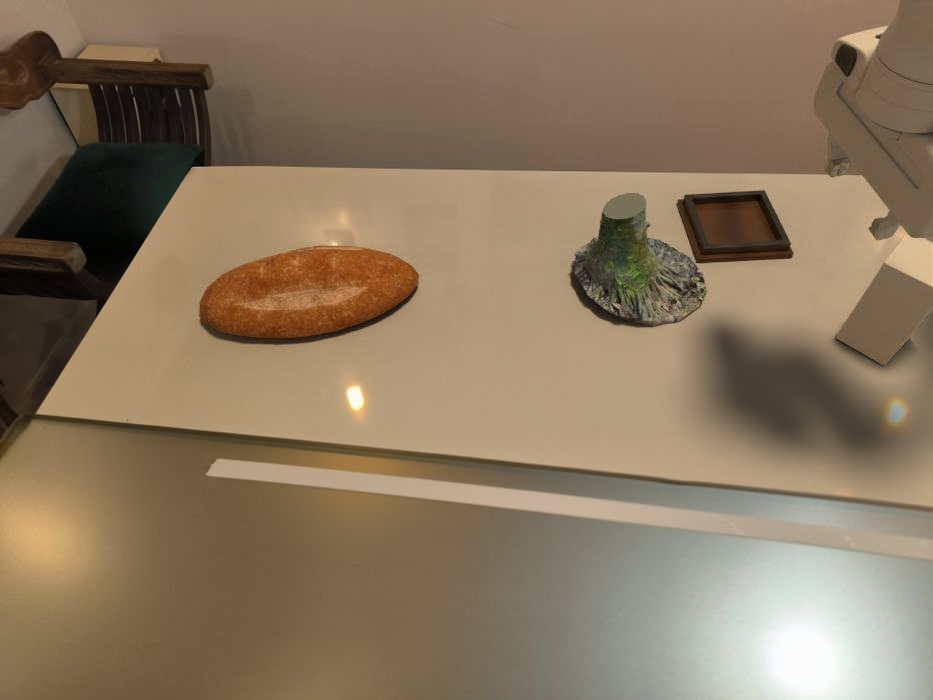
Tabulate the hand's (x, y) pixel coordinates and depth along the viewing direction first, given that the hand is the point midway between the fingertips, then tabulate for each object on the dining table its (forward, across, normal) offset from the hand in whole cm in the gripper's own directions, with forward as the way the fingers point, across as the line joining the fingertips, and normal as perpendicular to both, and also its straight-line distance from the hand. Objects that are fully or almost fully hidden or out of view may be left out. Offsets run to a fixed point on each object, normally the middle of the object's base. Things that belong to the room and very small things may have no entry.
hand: (855, 202), depth 64 cm
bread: (+24, +23, +67) cm, 75 cm away
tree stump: (+28, +16, +16) cm, 36 cm away
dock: (+30, +24, -4) cm, 39 cm away
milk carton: (+29, -2, -13) cm, 32 cm away
